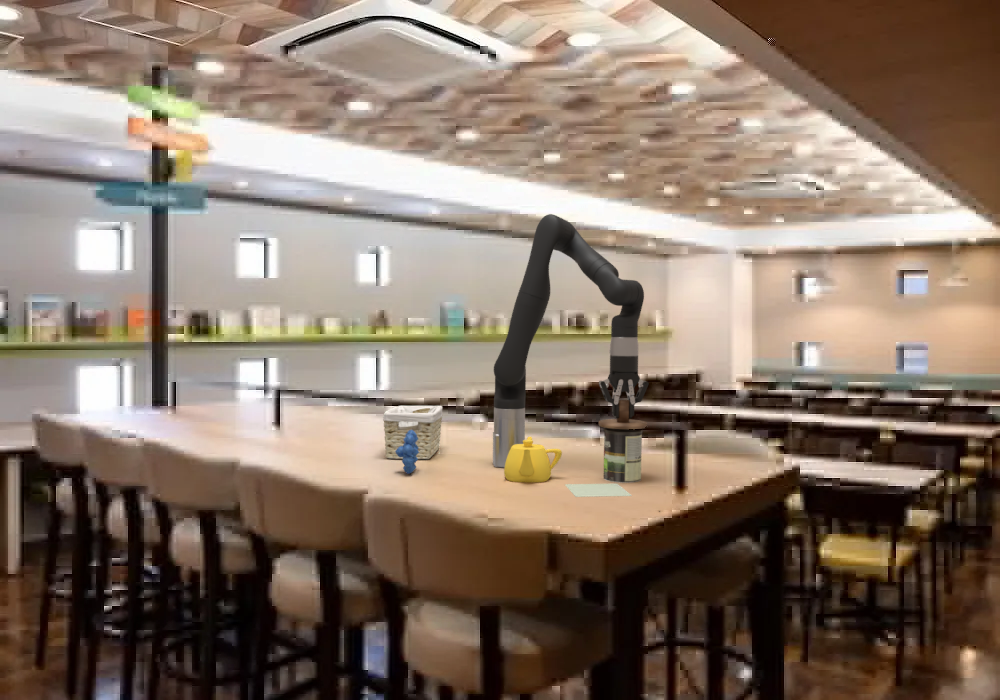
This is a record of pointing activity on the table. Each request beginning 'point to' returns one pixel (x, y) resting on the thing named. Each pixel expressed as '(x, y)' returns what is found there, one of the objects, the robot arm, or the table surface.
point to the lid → (623, 419)
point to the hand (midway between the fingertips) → (623, 417)
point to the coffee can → (622, 455)
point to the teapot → (529, 462)
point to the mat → (597, 490)
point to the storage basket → (416, 419)
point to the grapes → (409, 451)
